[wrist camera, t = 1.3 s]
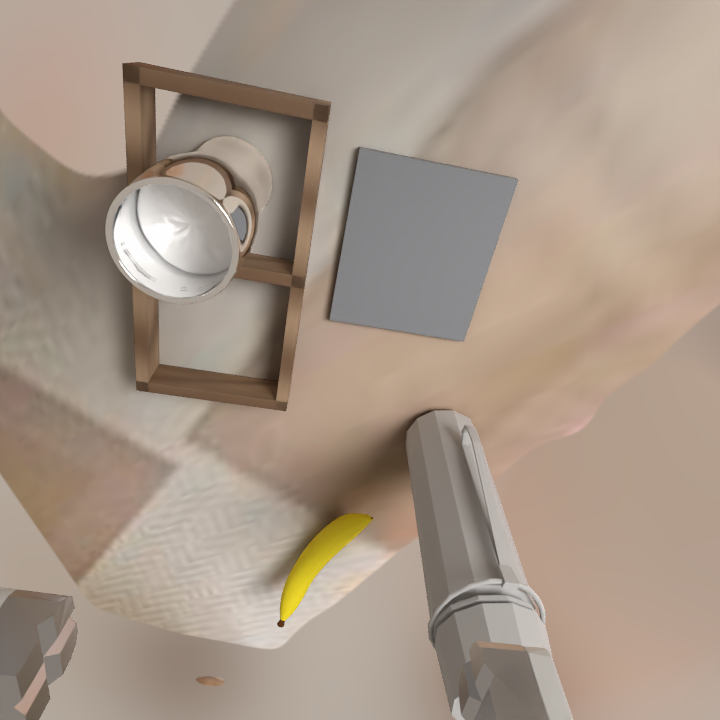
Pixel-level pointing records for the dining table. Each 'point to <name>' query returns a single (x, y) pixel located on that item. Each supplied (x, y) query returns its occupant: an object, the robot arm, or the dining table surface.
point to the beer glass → (190, 220)
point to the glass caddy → (255, 267)
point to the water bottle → (466, 548)
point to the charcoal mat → (417, 244)
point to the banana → (318, 558)
